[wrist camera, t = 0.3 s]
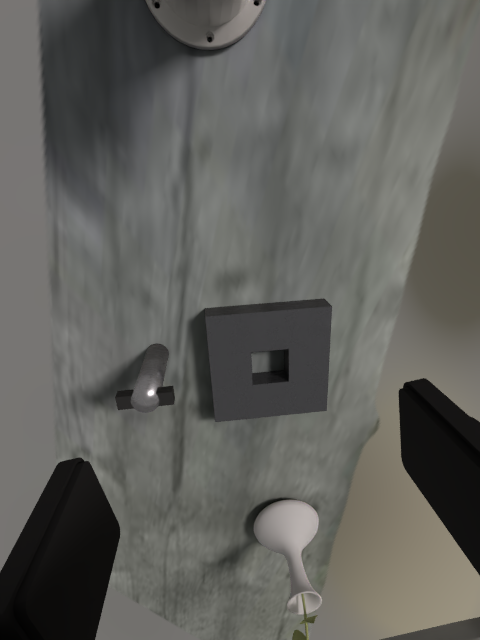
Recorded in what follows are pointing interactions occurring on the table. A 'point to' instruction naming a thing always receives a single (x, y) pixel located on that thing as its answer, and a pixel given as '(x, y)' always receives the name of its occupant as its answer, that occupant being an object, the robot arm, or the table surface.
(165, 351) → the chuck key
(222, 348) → the block
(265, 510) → the flower in vase
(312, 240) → the table surface
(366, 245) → the table surface
